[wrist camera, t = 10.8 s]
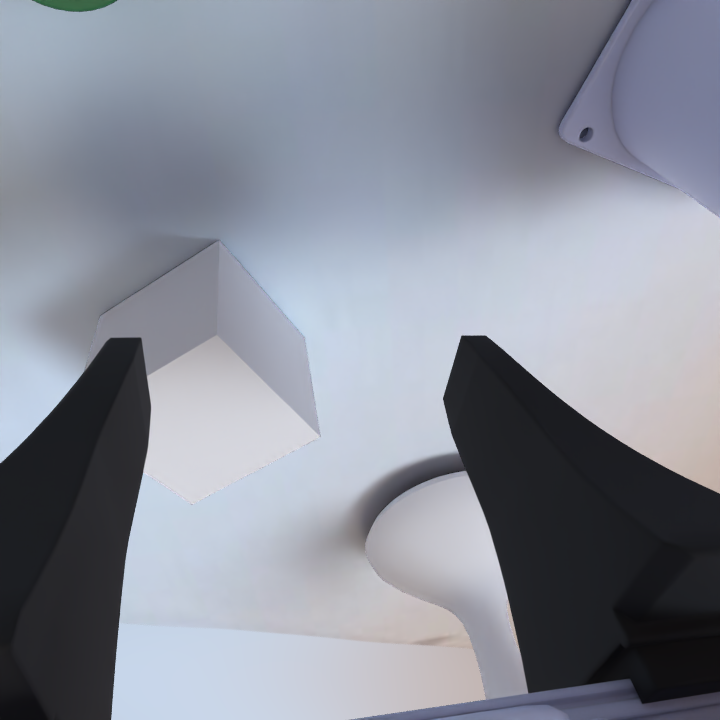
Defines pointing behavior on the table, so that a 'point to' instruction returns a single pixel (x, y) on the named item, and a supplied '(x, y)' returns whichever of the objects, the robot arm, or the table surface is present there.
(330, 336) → the table surface
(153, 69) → the table surface
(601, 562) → the robot arm
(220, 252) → the white cube
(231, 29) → the table surface
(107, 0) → the bottle
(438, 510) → the flower in vase
